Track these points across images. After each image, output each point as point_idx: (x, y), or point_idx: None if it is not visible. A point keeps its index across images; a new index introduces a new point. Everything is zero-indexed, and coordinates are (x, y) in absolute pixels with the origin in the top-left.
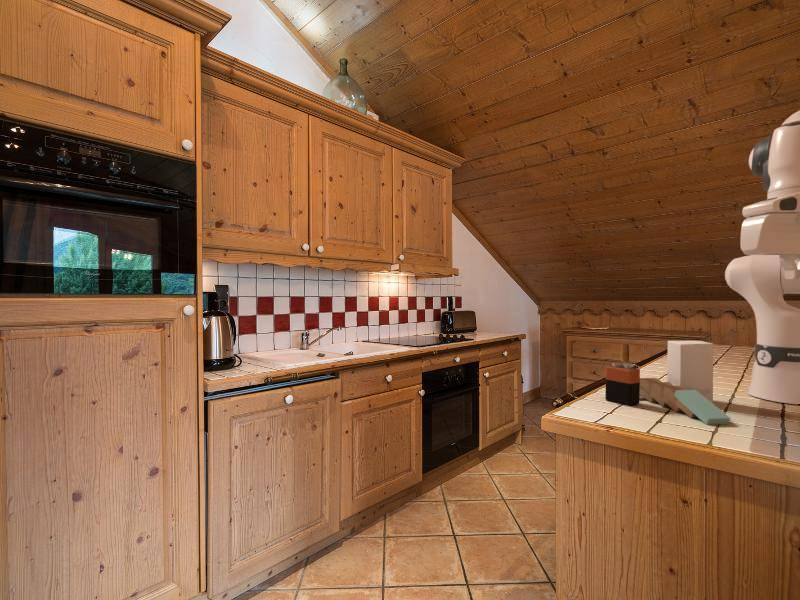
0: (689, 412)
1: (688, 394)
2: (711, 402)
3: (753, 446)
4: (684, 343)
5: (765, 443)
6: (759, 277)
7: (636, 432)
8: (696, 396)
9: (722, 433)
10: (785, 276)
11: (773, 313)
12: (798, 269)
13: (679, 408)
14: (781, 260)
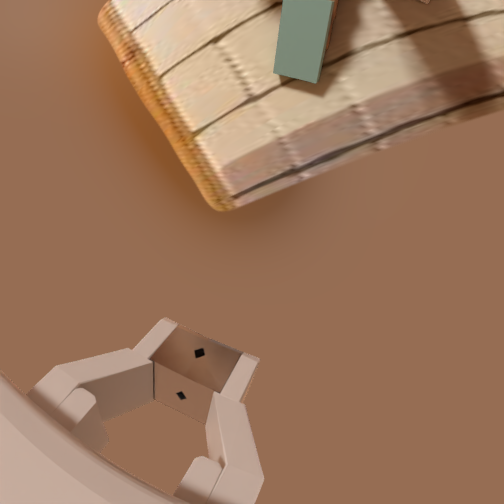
0: None
1: (299, 9)
2: (424, 2)
3: (243, 159)
4: None
5: (274, 158)
6: None
7: (147, 75)
8: (310, 18)
9: (258, 108)
10: (158, 324)
11: None
12: (212, 404)
13: None
14: (57, 378)
